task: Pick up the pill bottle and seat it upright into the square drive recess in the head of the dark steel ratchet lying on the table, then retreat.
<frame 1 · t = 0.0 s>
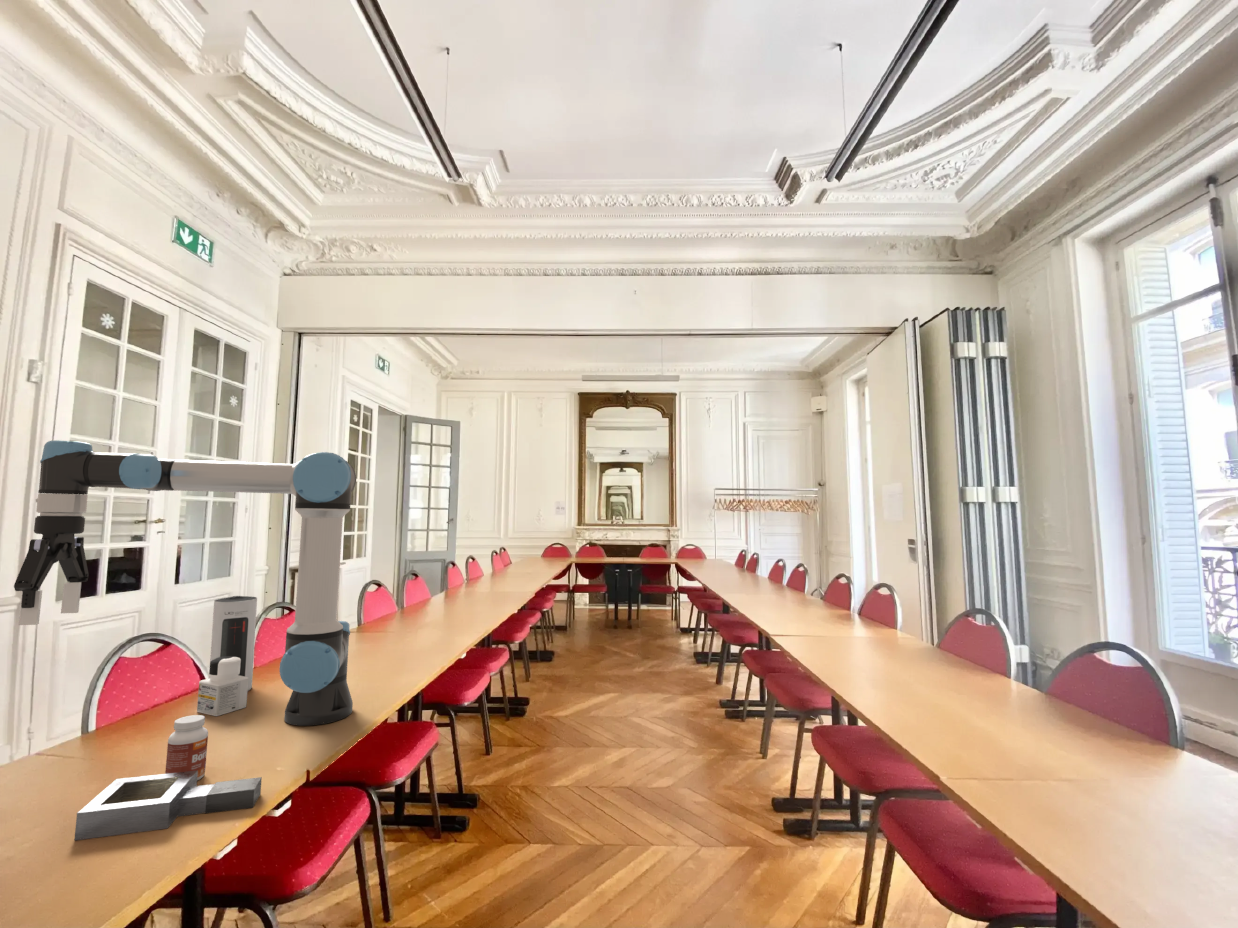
hand: (50, 618, 118), 28 cm above the table, fingers open, 13 cm apart
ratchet: (139, 815, 96), on the table
pill bottle: (184, 780, 109), on the table
container: (221, 710, 146), on the table
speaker: (229, 691, 161), on the table
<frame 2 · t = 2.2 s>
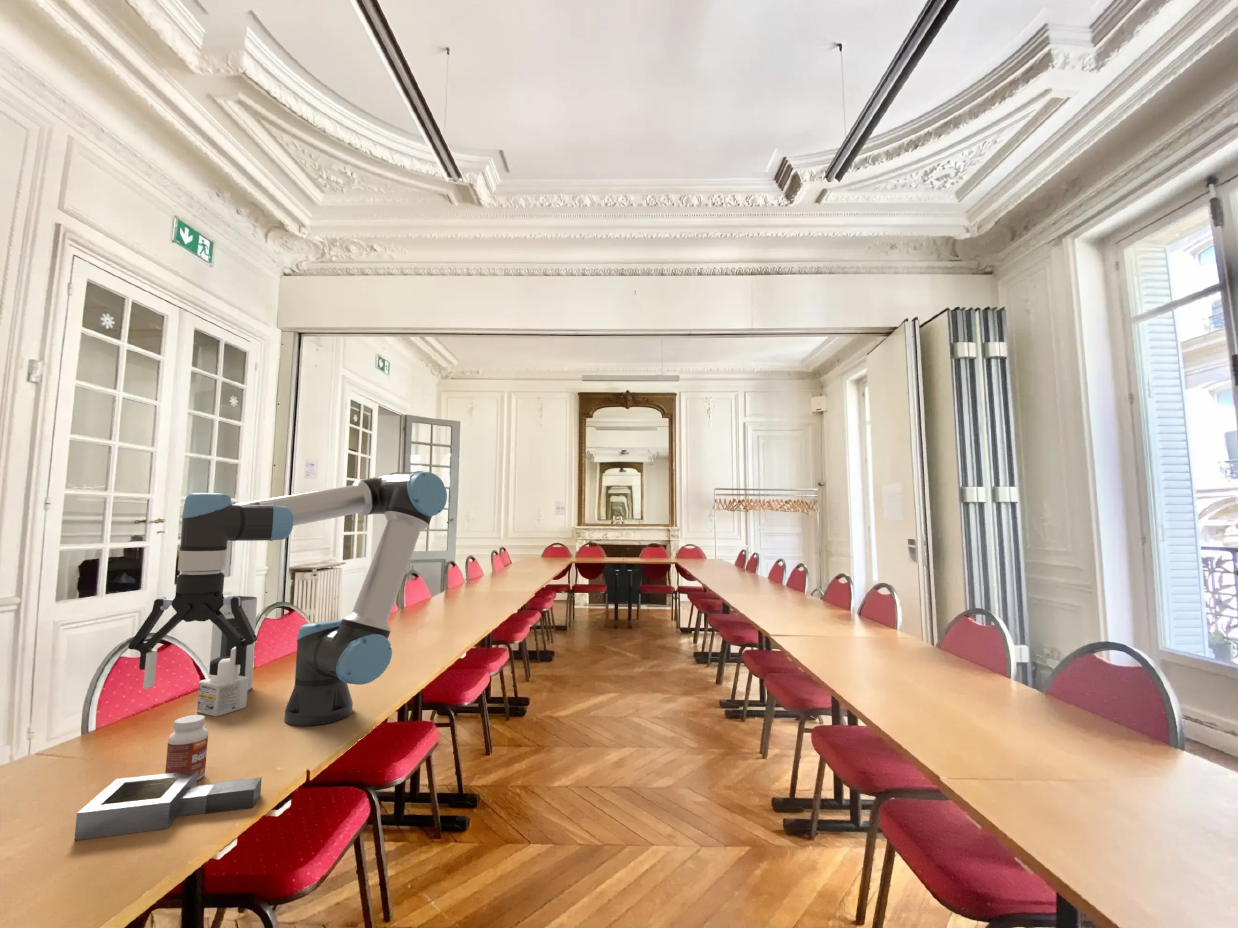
hand: (191, 684, 110), 17 cm above the table, fingers open, 13 cm apart
nothing on the table moved.
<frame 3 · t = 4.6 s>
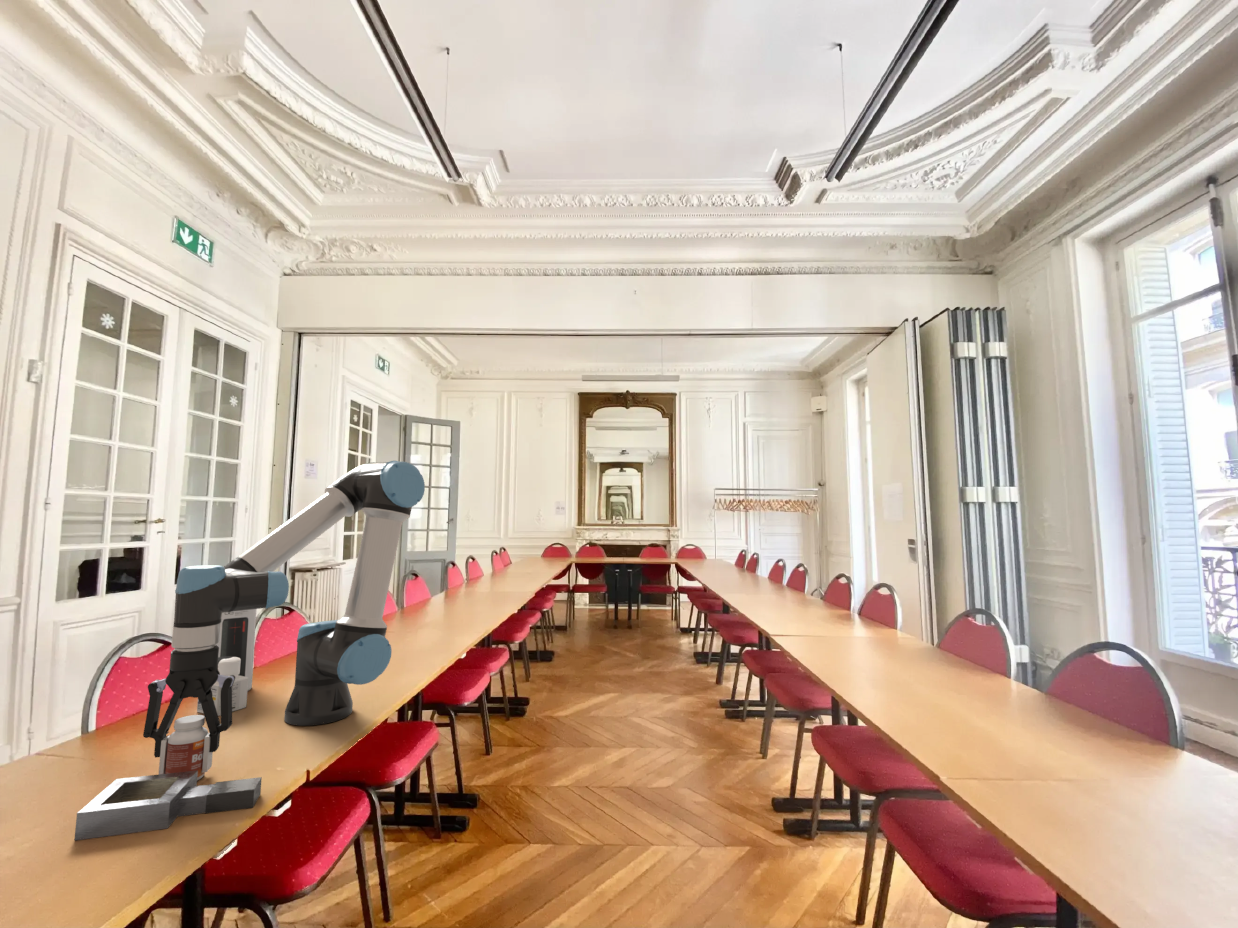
hand: (185, 771, 109), 1 cm above the table, fingers closed on pill bottle, 6 cm apart
pill bottle: (184, 780, 109), on the table, touching gripper
everything else where it was.
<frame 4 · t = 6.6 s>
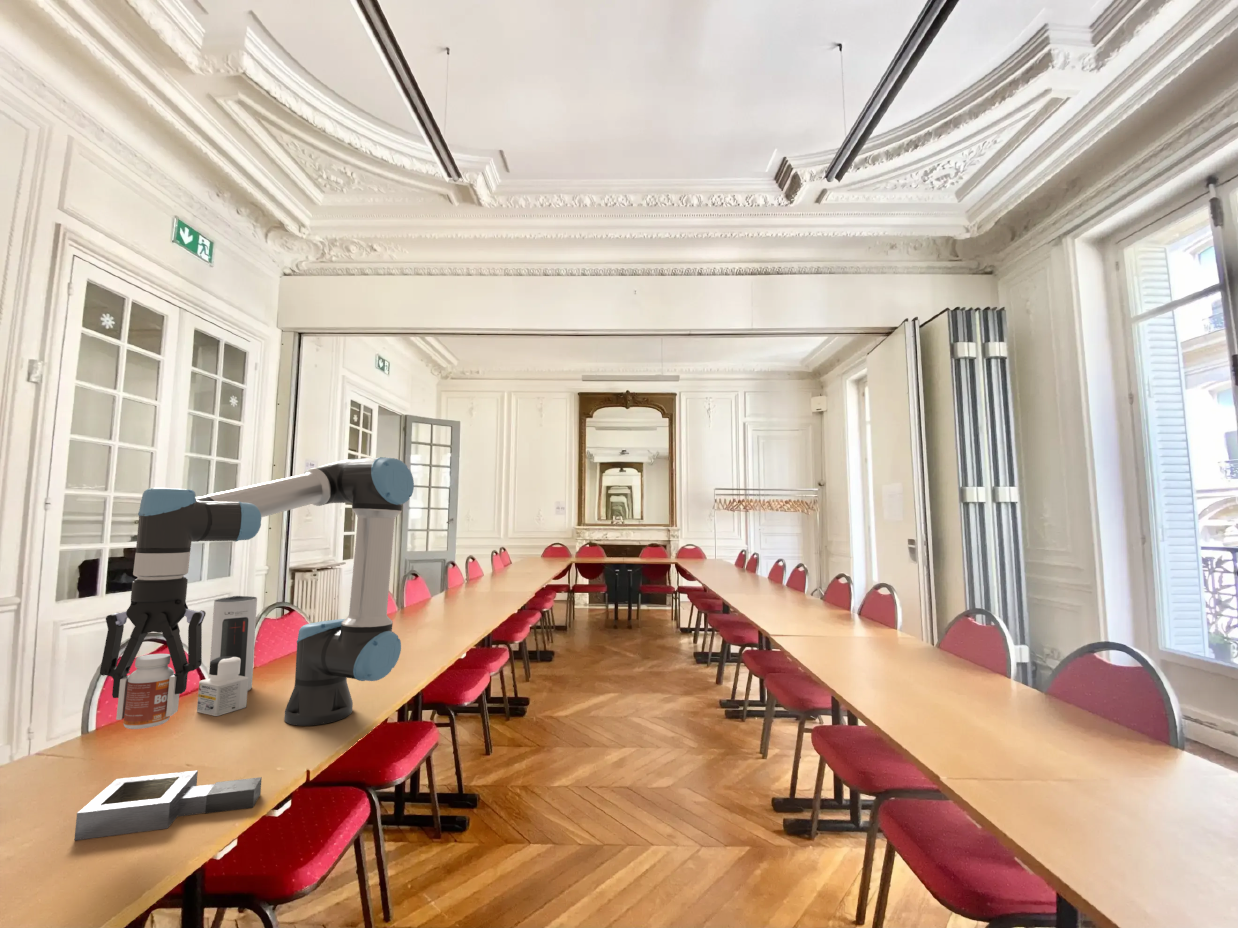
hand: (147, 715, 97), 16 cm above the table, fingers closed on pill bottle, 6 cm apart
pill bottle: (146, 724, 97), point 15 cm above the table, touching gripper
everything else where it was.
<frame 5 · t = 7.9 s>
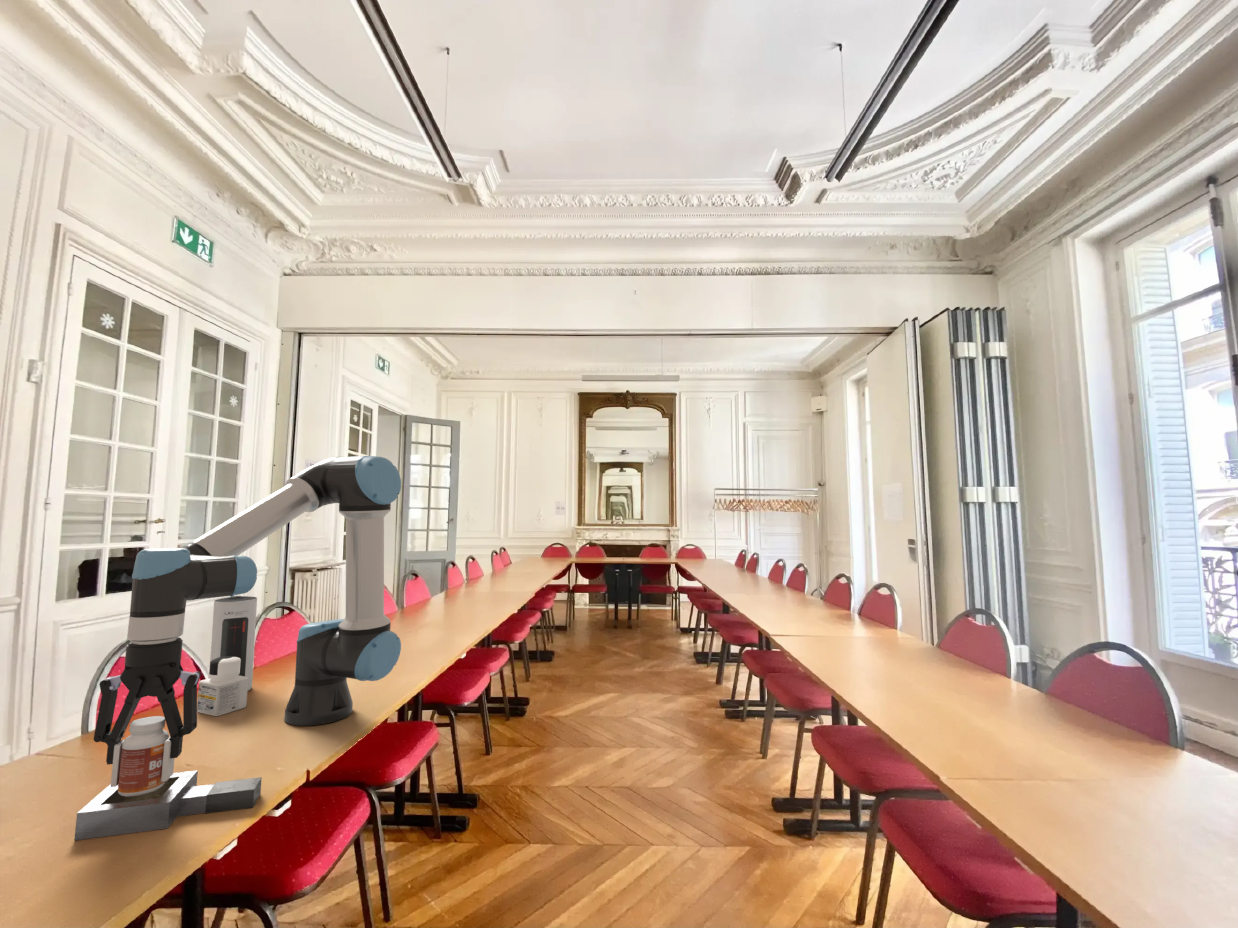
hand: (142, 780, 96), 6 cm above the table, fingers closed on pill bottle, 6 cm apart
pill bottle: (141, 790, 96), point 4 cm above the table, touching gripper
everything else where it was.
when the fingers open (5 cm above the table, at t = 8.7 s): pill bottle drops 2 cm, resting on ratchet.
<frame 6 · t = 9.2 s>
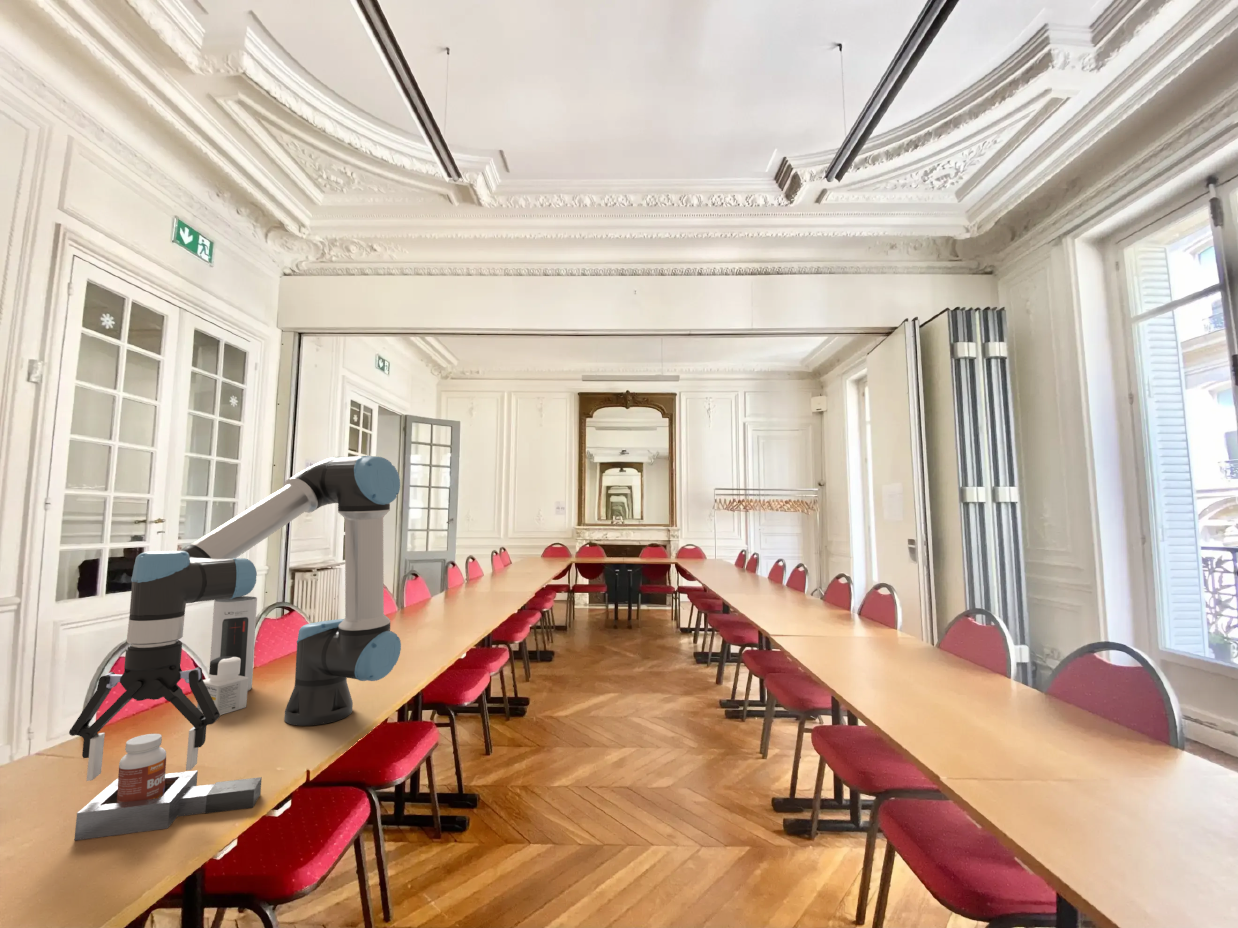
hand: (143, 772, 96), 7 cm above the table, fingers open, 13 cm apart
pill bottle: (140, 808, 96), point 1 cm above the table, touching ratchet
everything else where it was.
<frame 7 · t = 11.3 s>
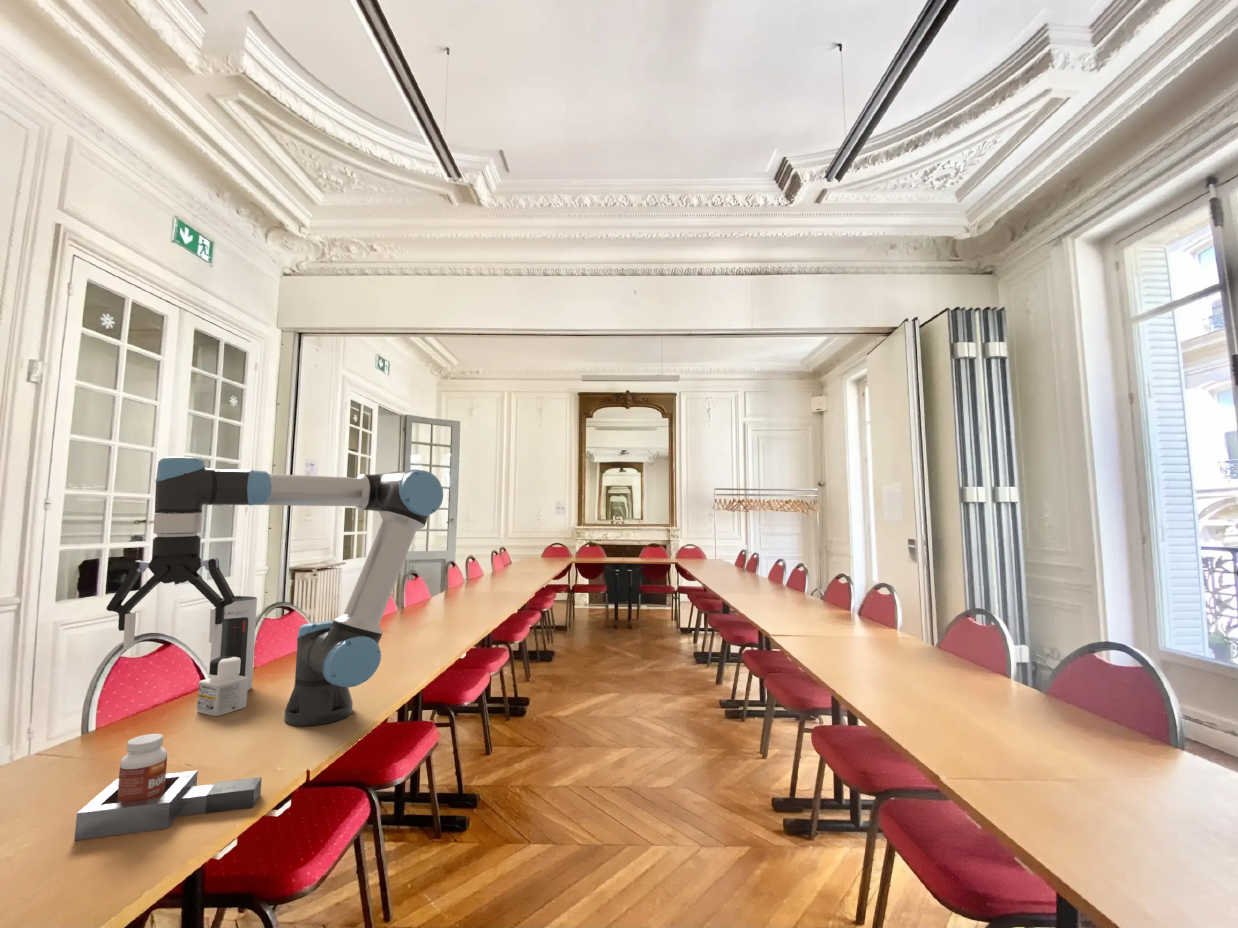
hand: (171, 644, 112), 25 cm above the table, fingers open, 13 cm apart
nothing on the table moved.
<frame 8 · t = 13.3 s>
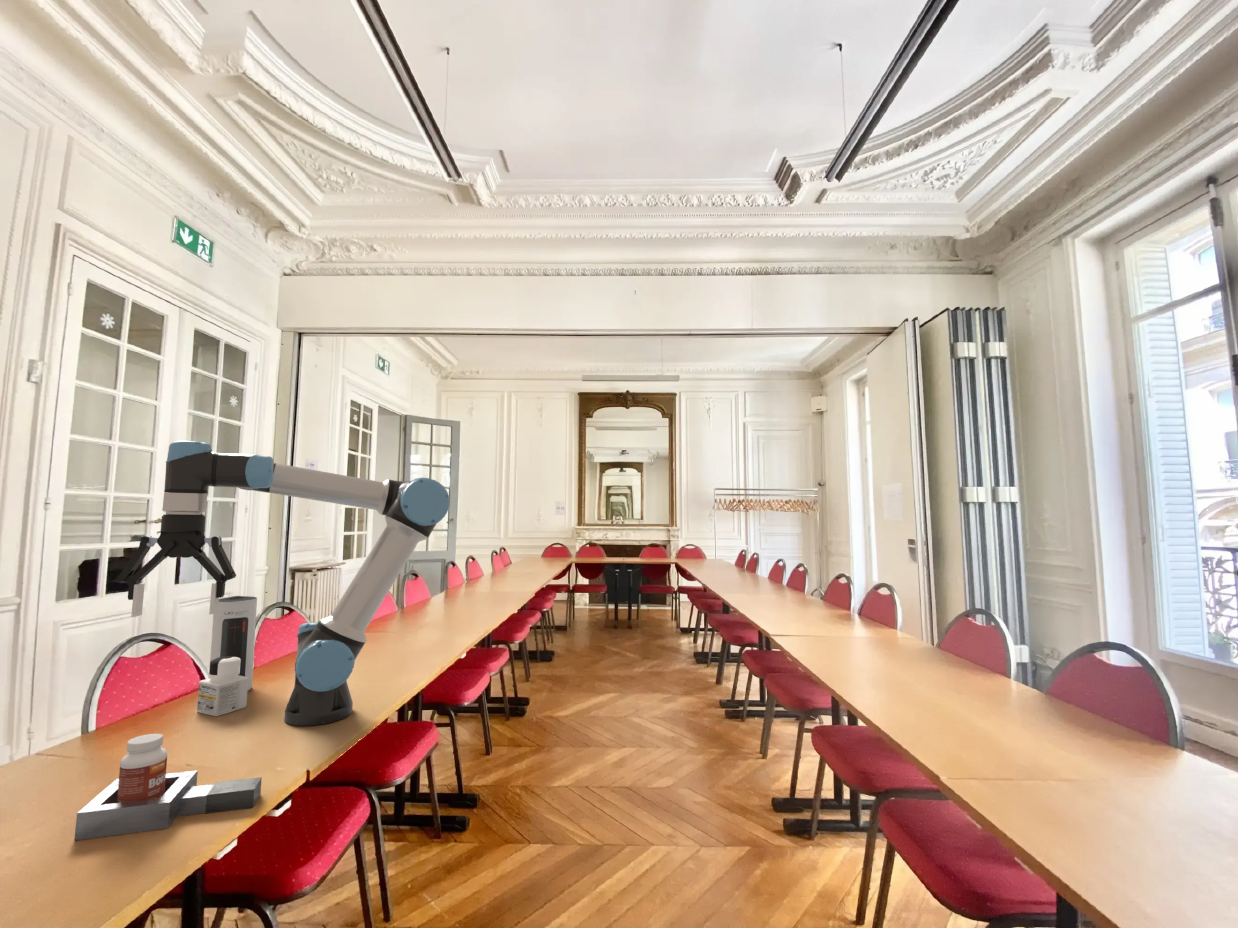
hand: (175, 614, 121), 29 cm above the table, fingers open, 13 cm apart
nothing on the table moved.
at the end: pill bottle 0.0 cm off-centre on the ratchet, point 1.0 cm above the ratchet's base; pill bottle tilted 1°; the gripper is holding nothing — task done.
